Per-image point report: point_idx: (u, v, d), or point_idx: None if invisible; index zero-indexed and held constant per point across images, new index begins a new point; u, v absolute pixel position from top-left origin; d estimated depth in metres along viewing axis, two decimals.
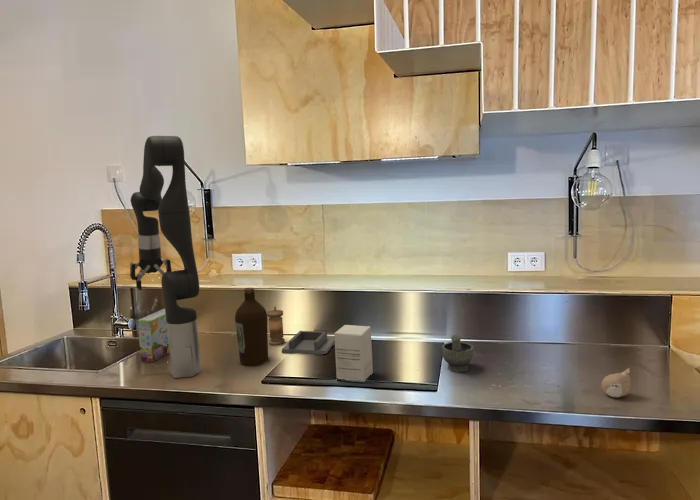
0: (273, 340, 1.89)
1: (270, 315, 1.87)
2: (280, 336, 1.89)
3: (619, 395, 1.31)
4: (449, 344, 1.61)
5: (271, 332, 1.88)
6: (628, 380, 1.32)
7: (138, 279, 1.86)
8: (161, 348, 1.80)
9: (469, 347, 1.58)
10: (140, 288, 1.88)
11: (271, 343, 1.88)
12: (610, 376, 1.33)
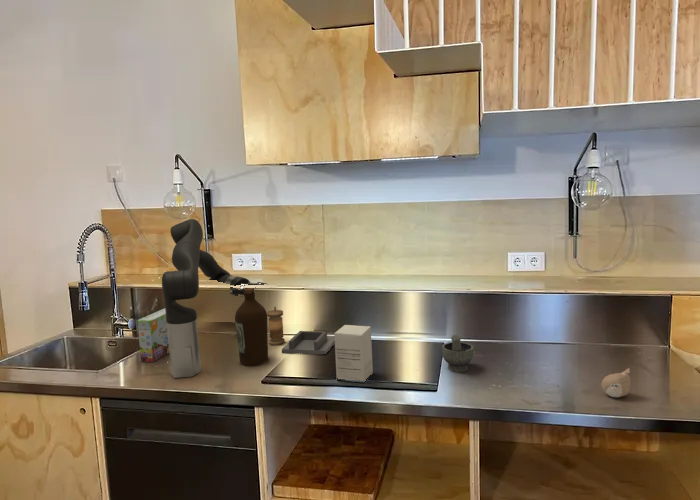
0: (273, 340, 1.89)
1: (270, 315, 1.87)
2: (280, 336, 1.89)
3: (619, 395, 1.31)
4: (449, 344, 1.61)
5: (271, 332, 1.88)
6: (628, 380, 1.32)
7: (241, 288, 1.97)
8: (161, 348, 1.80)
9: (469, 347, 1.58)
10: None
11: (271, 343, 1.88)
12: (610, 376, 1.33)
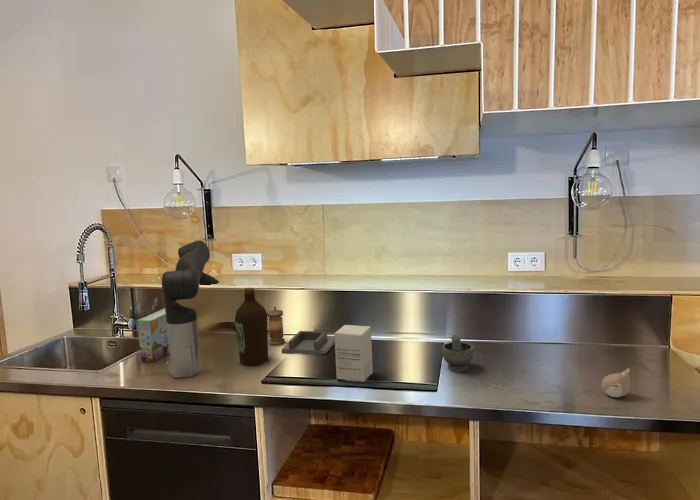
0: (273, 340, 1.89)
1: (270, 315, 1.87)
2: (280, 336, 1.89)
3: (619, 395, 1.31)
4: (449, 344, 1.61)
5: (271, 332, 1.88)
6: (628, 380, 1.32)
7: None
8: (161, 348, 1.80)
9: (469, 347, 1.58)
10: None
11: (271, 343, 1.88)
12: (610, 376, 1.33)
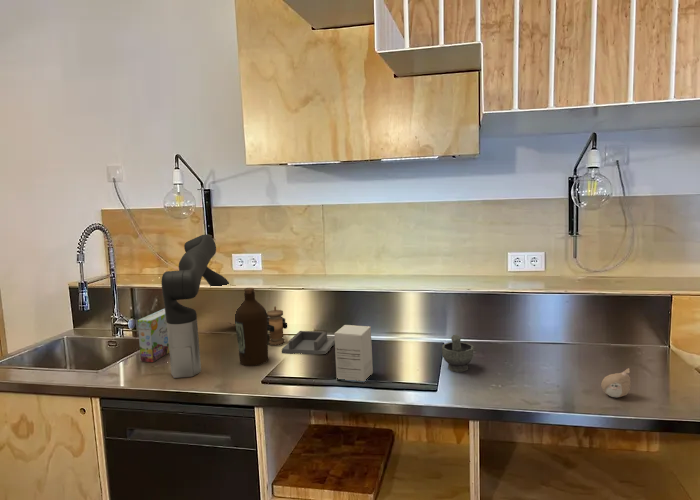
0: (273, 340, 1.89)
1: (270, 315, 1.87)
2: (280, 336, 1.89)
3: (619, 395, 1.31)
4: (449, 344, 1.61)
5: (271, 332, 1.88)
6: (628, 380, 1.32)
7: None
8: (161, 348, 1.80)
9: (469, 347, 1.58)
10: (272, 326, 1.87)
11: (271, 343, 1.88)
12: (610, 376, 1.33)
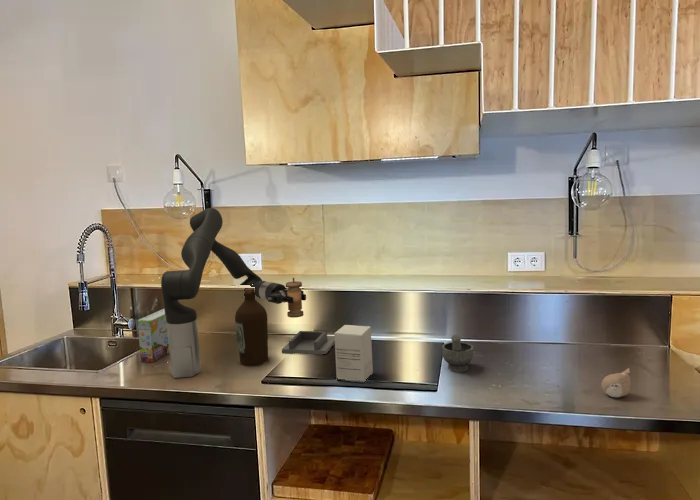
0: (292, 312, 1.83)
1: (289, 286, 1.81)
2: (299, 308, 1.83)
3: (619, 395, 1.31)
4: (449, 344, 1.61)
5: (290, 304, 1.83)
6: (628, 380, 1.32)
7: (284, 295, 1.83)
8: (161, 348, 1.80)
9: (469, 347, 1.58)
10: (291, 297, 1.81)
11: (290, 315, 1.83)
12: (610, 376, 1.33)
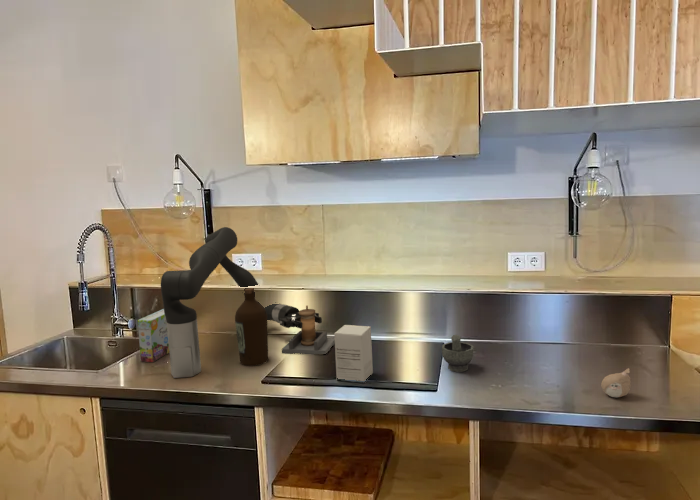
0: (305, 340, 1.82)
1: (302, 314, 1.80)
2: (313, 336, 1.82)
3: (619, 395, 1.31)
4: (449, 344, 1.61)
5: (303, 332, 1.81)
6: (628, 380, 1.32)
7: (293, 320, 1.81)
8: (161, 348, 1.80)
9: (469, 347, 1.58)
10: (300, 322, 1.79)
11: (303, 343, 1.81)
12: (610, 376, 1.33)
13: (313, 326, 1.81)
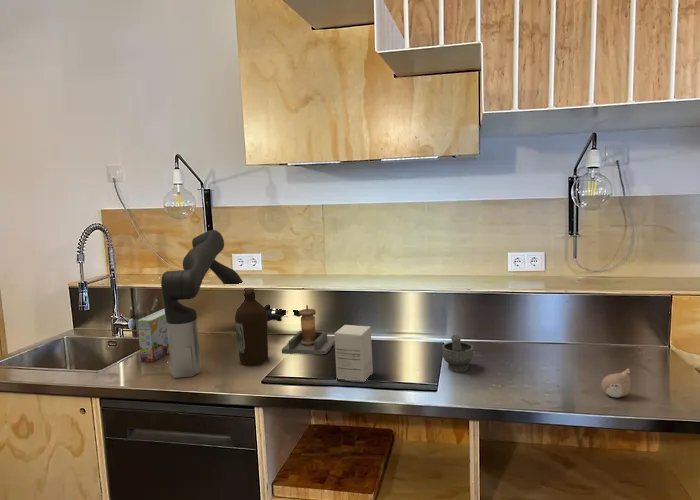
0: (305, 340, 1.82)
1: (303, 314, 1.80)
2: (313, 336, 1.82)
3: (619, 395, 1.31)
4: (449, 344, 1.61)
5: (303, 332, 1.81)
6: (628, 380, 1.32)
7: (272, 313, 1.91)
8: (161, 348, 1.80)
9: (469, 347, 1.58)
10: (279, 315, 1.89)
11: (303, 343, 1.81)
12: (610, 376, 1.33)
13: (313, 326, 1.82)
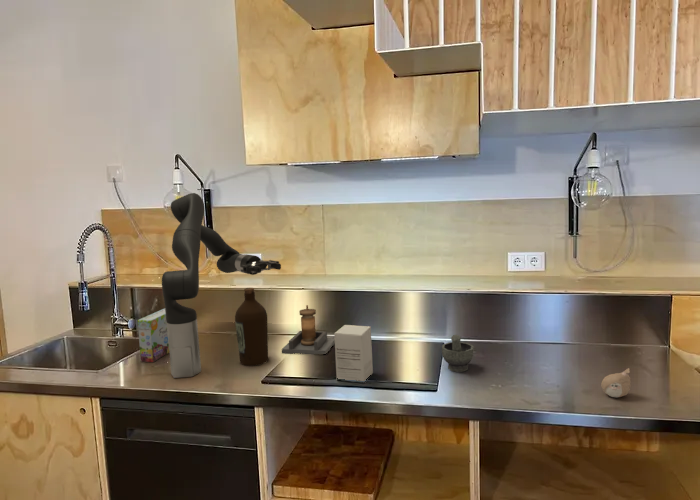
0: (306, 340, 1.82)
1: (303, 314, 1.80)
2: (313, 336, 1.82)
3: (619, 395, 1.31)
4: (449, 344, 1.61)
5: (304, 331, 1.81)
6: (628, 380, 1.32)
7: (252, 265, 1.89)
8: (161, 348, 1.80)
9: (469, 347, 1.58)
10: (258, 267, 1.87)
11: (304, 343, 1.81)
12: (610, 376, 1.33)
13: (313, 325, 1.82)
